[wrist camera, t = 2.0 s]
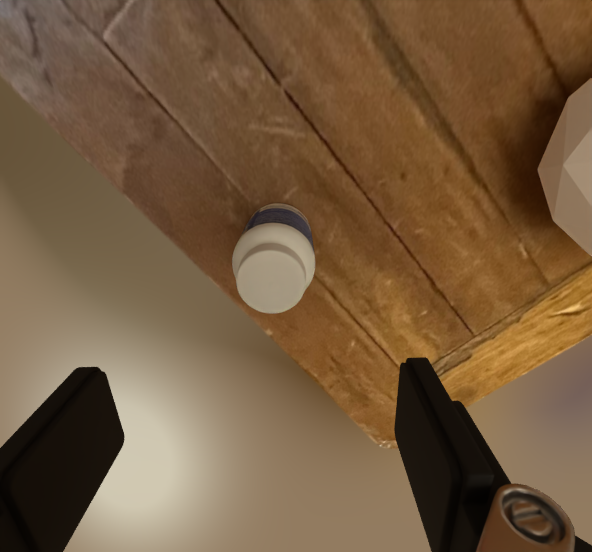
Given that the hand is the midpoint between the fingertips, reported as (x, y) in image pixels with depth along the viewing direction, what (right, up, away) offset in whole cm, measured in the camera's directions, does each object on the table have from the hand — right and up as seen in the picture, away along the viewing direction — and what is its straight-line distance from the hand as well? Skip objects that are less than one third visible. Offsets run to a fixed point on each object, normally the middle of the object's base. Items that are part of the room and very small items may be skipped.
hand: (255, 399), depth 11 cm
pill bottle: (0, +7, +18) cm, 19 cm away
